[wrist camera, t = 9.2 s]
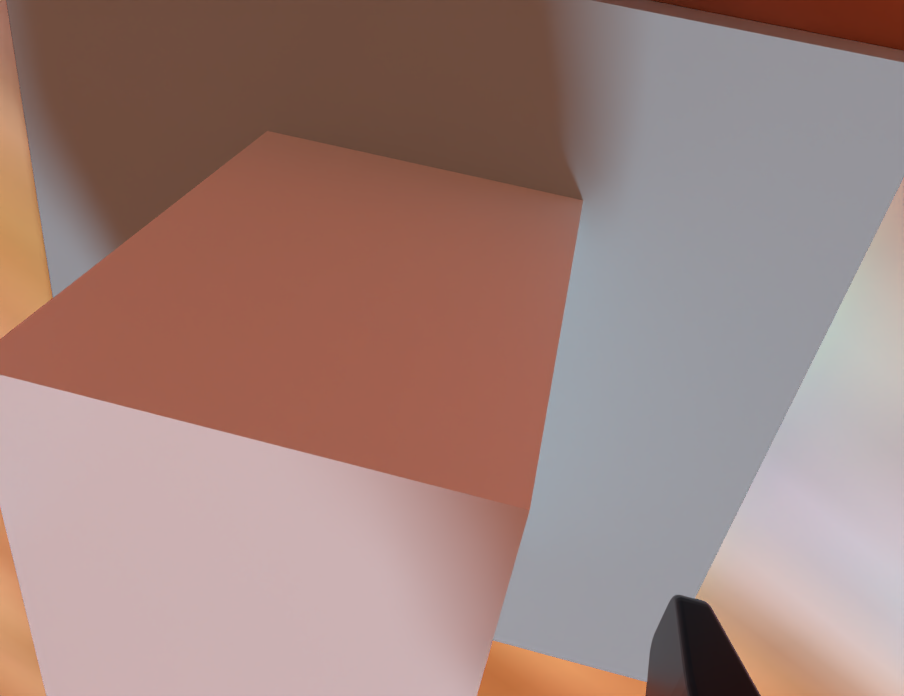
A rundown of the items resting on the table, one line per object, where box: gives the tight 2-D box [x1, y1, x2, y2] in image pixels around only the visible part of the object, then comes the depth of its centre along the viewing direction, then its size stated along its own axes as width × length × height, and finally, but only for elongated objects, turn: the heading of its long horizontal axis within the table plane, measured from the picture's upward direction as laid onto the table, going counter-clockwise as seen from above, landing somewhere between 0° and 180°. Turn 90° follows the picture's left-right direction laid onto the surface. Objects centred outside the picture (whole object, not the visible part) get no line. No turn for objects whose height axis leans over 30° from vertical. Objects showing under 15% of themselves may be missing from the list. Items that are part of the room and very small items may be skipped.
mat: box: [6, 0, 904, 682], centre depth 13 cm, size 12×12×1 cm
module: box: [0, 131, 583, 696], centre depth 10 cm, size 4×7×6 cm, turn 173°
